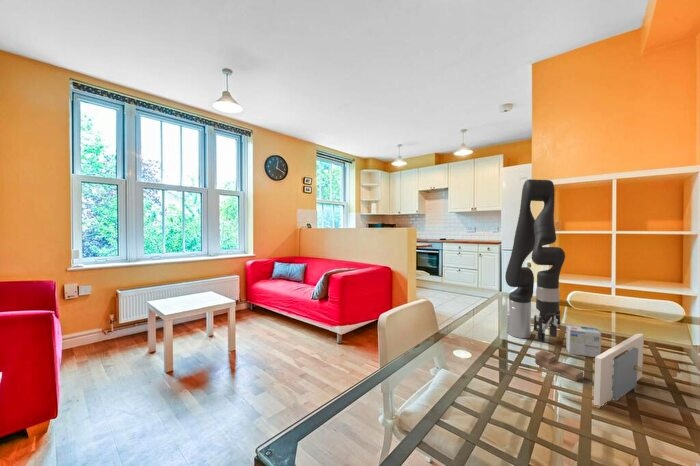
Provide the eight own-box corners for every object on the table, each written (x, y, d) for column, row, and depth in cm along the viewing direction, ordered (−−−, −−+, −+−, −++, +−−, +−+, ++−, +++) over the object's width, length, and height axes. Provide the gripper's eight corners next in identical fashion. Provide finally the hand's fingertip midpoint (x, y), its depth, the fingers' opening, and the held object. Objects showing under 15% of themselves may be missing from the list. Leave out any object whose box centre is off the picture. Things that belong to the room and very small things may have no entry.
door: (612, 399, 93) (614, 359, 92) (632, 384, 100) (634, 347, 99) (622, 403, 91) (624, 363, 90) (642, 388, 98) (644, 350, 97)
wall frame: (593, 405, 91) (595, 357, 89) (636, 375, 106) (638, 332, 104) (599, 408, 89) (601, 359, 88) (641, 377, 104) (643, 334, 103)
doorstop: (535, 364, 115) (535, 353, 115) (542, 360, 118) (542, 350, 117) (575, 382, 103) (576, 370, 103) (582, 377, 105) (583, 366, 105)
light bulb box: (595, 351, 124) (596, 326, 123) (601, 358, 118) (602, 333, 117) (565, 346, 128) (565, 323, 127) (569, 354, 122) (569, 329, 121)
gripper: (547, 292, 119) (546, 331, 120) (527, 299, 112) (526, 339, 113) (568, 297, 112) (567, 337, 113) (547, 304, 105) (547, 347, 106)
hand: (547, 338), depth 113 cm, fingers open, 8 cm apart
